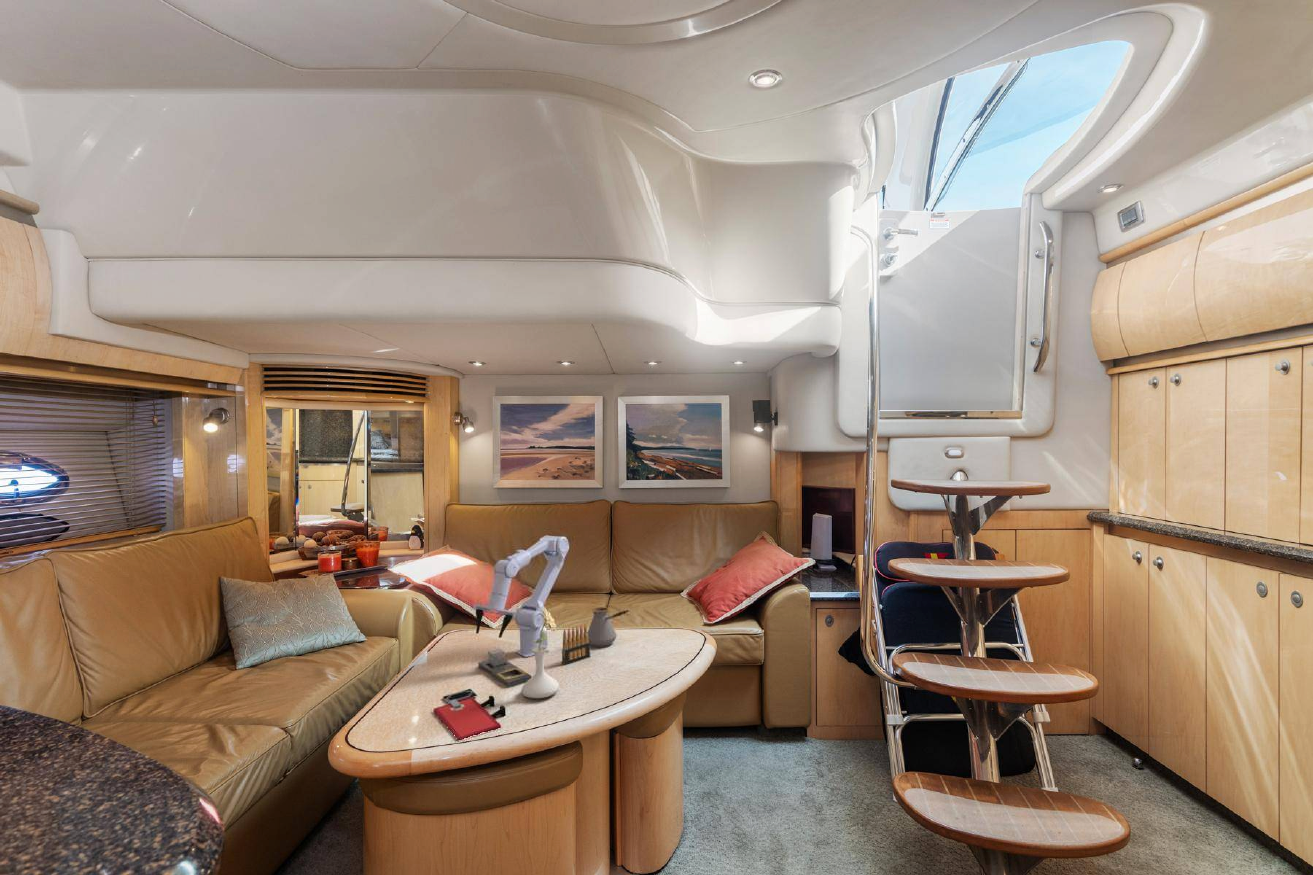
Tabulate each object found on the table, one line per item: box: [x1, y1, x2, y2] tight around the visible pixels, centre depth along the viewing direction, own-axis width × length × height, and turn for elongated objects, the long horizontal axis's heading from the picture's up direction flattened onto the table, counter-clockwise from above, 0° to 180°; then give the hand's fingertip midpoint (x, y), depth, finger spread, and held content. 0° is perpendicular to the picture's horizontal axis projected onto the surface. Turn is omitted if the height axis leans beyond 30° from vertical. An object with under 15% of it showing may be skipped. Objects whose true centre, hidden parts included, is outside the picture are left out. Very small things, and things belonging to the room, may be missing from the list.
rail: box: [477, 658, 533, 689], centre depth 199 cm, size 8×24×2 cm, turn 38°
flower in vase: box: [521, 607, 561, 699], centre depth 182 cm, size 13×11×25 cm
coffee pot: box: [587, 606, 632, 648], centre depth 223 cm, size 21×12×15 cm, turn 47°
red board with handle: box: [433, 688, 507, 741], centre depth 170 cm, size 30×3×15 cm
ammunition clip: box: [561, 622, 591, 666], centre depth 209 cm, size 11×2×12 cm, turn 133°
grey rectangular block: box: [487, 648, 506, 668], centre depth 203 cm, size 4×4×6 cm
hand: (488, 635), depth 203 cm, fingers open, 7 cm apart
